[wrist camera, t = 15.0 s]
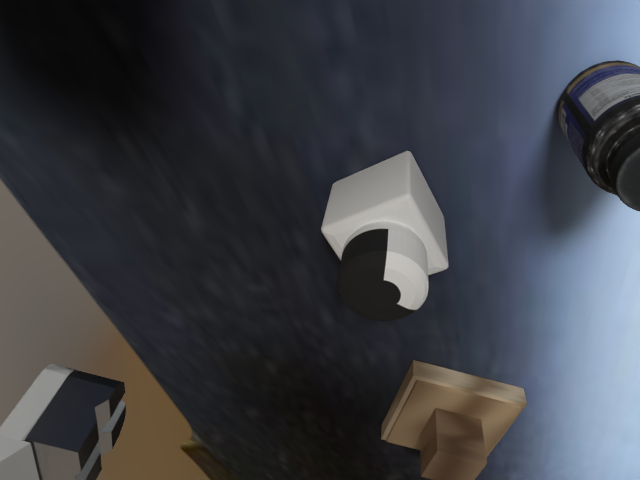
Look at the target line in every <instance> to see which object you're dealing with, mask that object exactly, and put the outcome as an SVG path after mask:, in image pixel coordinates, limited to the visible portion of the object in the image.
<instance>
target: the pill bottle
mask: <svg viewBox="0 0 640 480" xmlns="http://www.w3.org/2000/svg"><path fill="white" fill-rule="evenodd" d="M557 118H558V121H559V125H560V127H561V129H562V131H563V133H564V135H565V136H566V138H567V140H568V141H569V143H570V145H571V147H572V148H573V150H574V152H575V153H576V155H577V156H578V158H579V160H580V161H581V163H582V165H583V166H584V168H585V170H586V172H587V174H588V175H589V177H590V178H591V179H592V181H593V182H594V183H595V184H596V185H597V186H599V187H600V188H601V189H603V190H605V191H607V192H609V193H612V194H615V195H618V197H619V198H620V200H621V201H622V202H623V203H624V204H626V205H627V206H628V207H630V208H632V209H634V210H637V211H640V67H639V66H637V65H634V64H632V63H628V62H624V61H608V62H602V63H599V64H596V65H593V66H591V67H589V68H587V69H586V70H584V71H582V72H581V73H579V74H578V75H577V76H576V77H575V78H574V79H573V80H572V81H571V82H570V83H569V84H568V86H567V88H566V89H565V91H564V93H563V94H562V96H561V98H560V101H559V105H558V115H557Z"/></svg>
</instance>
